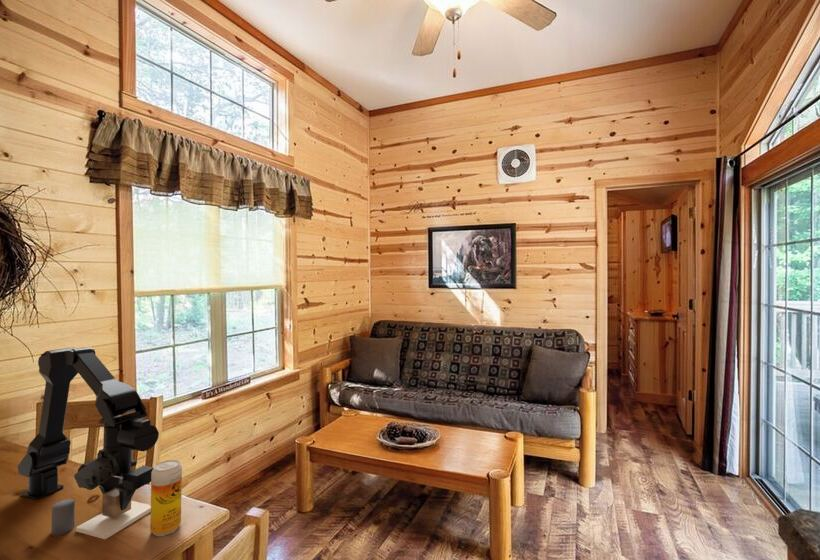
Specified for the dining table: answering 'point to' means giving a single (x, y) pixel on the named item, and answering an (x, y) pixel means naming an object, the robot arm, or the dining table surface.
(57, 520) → the post
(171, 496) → the yellow canister
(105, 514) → the walnut block
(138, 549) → the dining table surface
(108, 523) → the ceramic tile
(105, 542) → the dining table surface
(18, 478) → the dining table surface
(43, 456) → the robot arm
